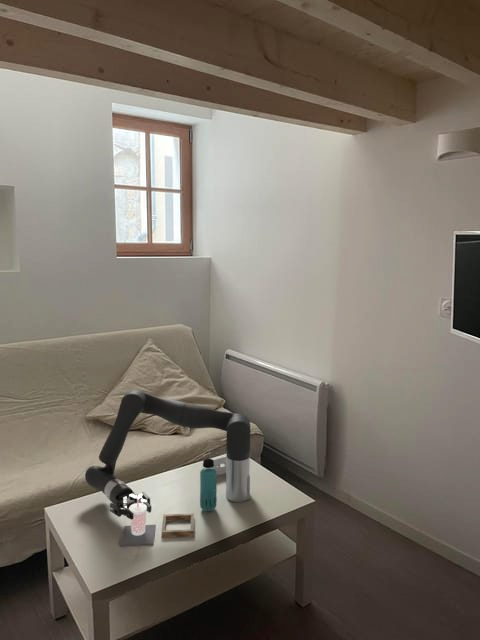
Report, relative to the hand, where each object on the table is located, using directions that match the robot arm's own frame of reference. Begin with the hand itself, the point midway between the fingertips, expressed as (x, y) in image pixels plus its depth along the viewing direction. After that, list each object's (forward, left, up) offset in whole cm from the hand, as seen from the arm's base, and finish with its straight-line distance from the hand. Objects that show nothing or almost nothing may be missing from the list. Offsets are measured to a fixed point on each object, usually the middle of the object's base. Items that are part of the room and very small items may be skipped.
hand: (141, 513), depth 166 cm
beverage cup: (+1, -2, -8) cm, 9 cm away
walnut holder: (-12, -6, -10) cm, 17 cm away
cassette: (-30, -46, -10) cm, 56 cm away
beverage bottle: (-23, -17, -10) cm, 30 cm away
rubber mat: (+1, -2, -10) cm, 10 cm away
